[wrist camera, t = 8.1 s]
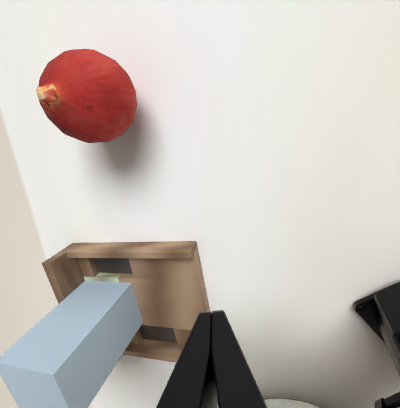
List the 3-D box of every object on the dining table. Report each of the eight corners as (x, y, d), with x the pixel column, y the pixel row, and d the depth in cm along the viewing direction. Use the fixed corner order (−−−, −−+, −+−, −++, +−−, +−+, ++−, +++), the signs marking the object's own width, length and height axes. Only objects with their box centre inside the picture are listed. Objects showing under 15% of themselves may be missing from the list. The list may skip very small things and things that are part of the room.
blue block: (131, 282, 26) (53, 374, 17) (143, 321, 28) (76, 424, 19) (85, 280, 28) (-7, 362, 19) (98, 316, 30) (19, 407, 21)
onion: (127, 150, 22) (54, 173, 15) (80, 101, 22) (-18, 99, 15) (169, 98, 20) (103, 95, 12) (115, 41, 19) (17, 3, 12)
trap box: (196, 241, 23) (180, 265, 20) (217, 350, 27) (207, 387, 24) (72, 243, 28) (41, 263, 25) (106, 336, 32) (84, 365, 29)
